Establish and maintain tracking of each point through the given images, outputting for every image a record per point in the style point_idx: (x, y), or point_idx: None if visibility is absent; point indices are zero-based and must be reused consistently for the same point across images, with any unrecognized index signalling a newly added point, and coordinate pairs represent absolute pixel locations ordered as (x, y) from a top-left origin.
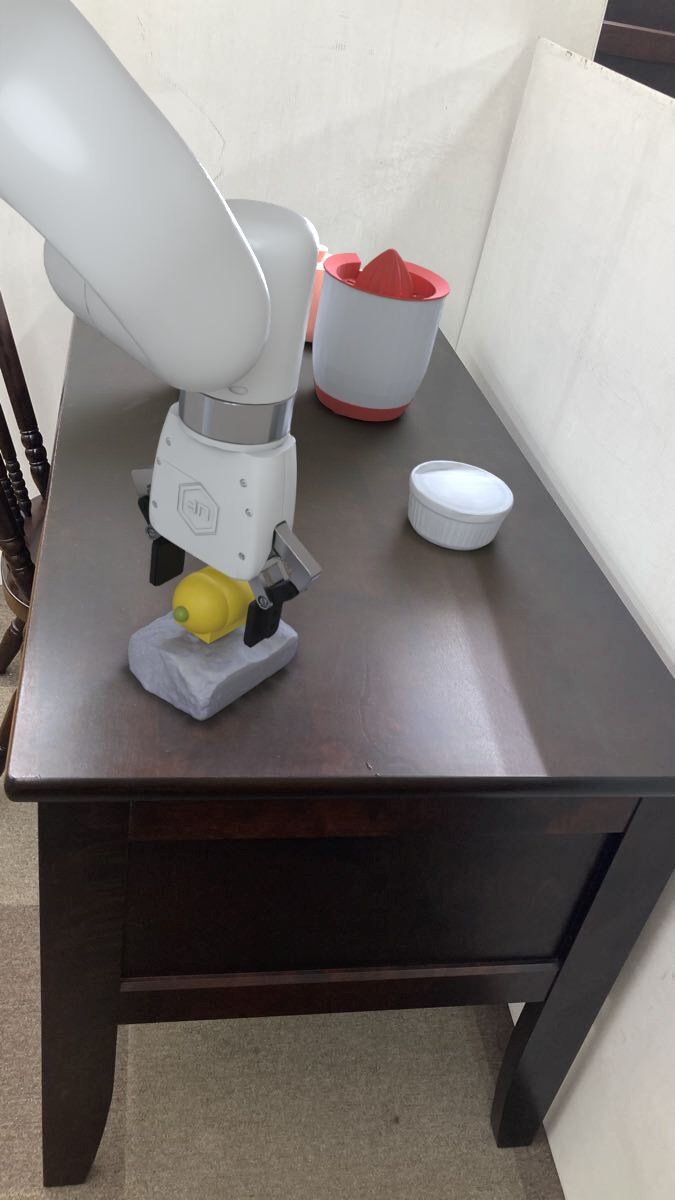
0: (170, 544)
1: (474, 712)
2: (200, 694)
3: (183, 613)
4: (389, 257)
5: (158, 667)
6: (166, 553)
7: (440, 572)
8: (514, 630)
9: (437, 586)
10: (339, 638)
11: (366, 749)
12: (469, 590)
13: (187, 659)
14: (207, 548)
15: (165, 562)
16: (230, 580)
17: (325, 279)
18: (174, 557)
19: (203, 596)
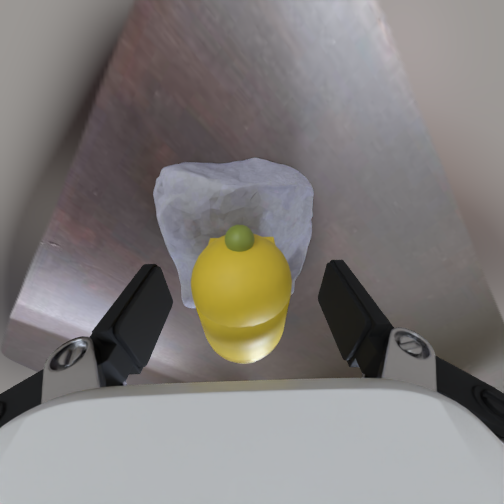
0: (354, 336)
1: (87, 326)
2: (164, 173)
3: (229, 239)
4: None
5: (248, 175)
6: (349, 316)
7: (210, 379)
8: (146, 374)
9: (201, 372)
10: (199, 318)
11: (75, 256)
12: (188, 378)
13: (205, 197)
14: (153, 498)
15: (340, 300)
16: (218, 337)
17: None
18: (336, 314)
19: (216, 289)
